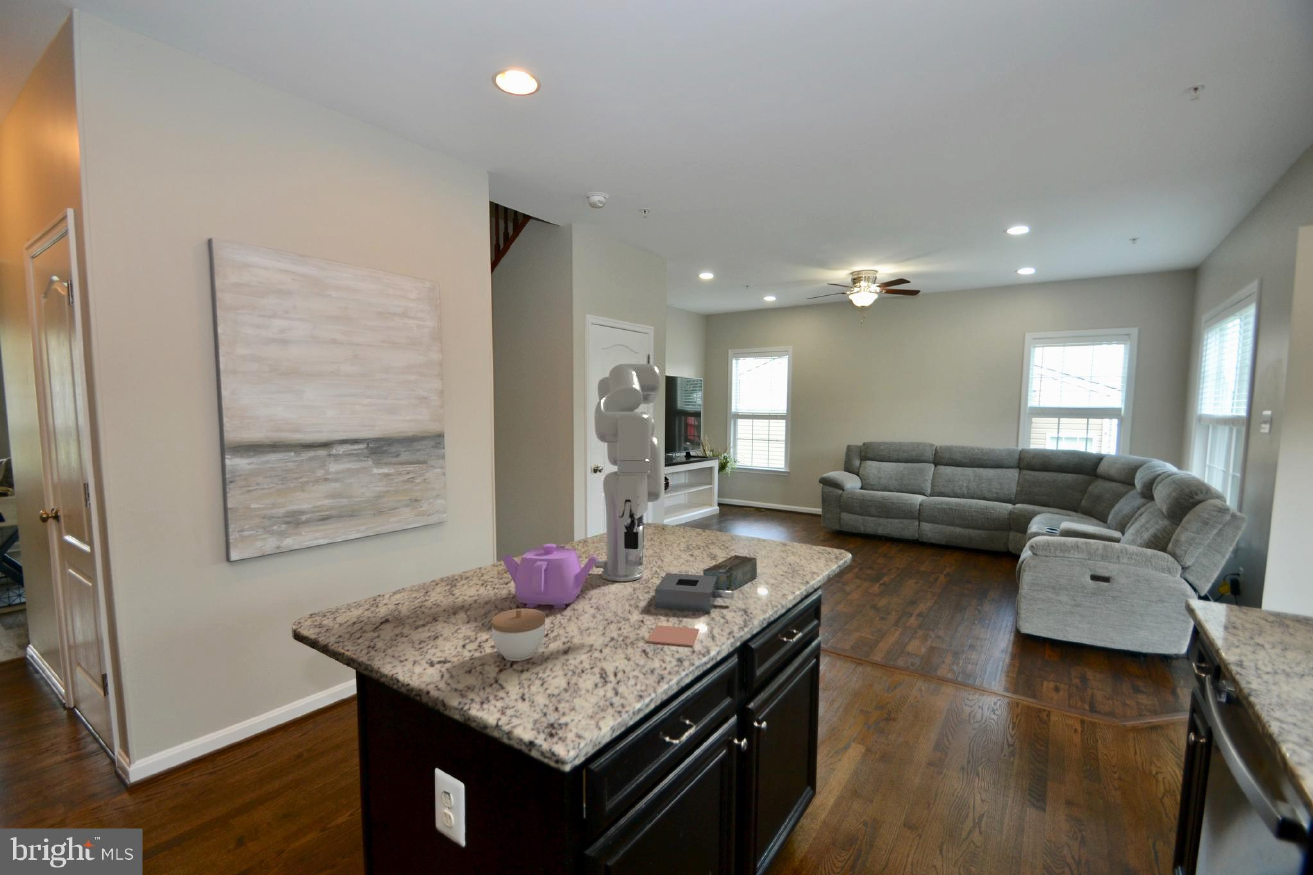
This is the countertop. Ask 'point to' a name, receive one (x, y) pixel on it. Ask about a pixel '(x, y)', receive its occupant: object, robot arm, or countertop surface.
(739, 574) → the beverage carton
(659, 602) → the grey slotted box
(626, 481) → the robot arm
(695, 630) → the mat
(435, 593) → the countertop surface
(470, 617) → the countertop surface
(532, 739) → the countertop surface
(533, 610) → the lidded jar
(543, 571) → the teapot
